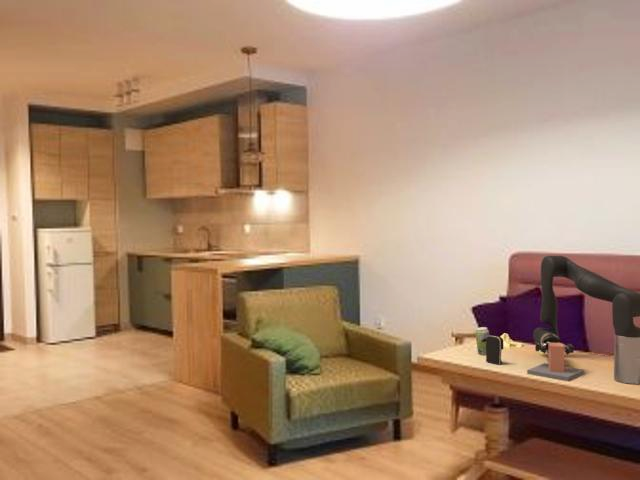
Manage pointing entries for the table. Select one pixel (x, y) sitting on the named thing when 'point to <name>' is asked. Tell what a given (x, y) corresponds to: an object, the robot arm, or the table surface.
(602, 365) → the table surface
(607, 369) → the table surface
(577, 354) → the table surface
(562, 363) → the salmon orange block
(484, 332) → the beverage can
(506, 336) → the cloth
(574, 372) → the base plate
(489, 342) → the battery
